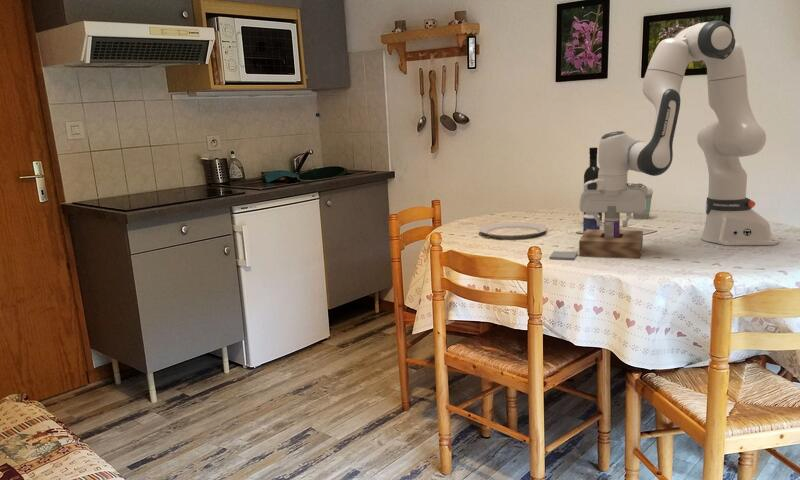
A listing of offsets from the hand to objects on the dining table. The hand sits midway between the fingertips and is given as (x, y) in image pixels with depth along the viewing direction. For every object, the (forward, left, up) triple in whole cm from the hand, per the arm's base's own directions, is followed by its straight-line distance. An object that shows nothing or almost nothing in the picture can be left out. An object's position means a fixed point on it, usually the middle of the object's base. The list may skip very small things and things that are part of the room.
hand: (612, 226), depth 201 cm
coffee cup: (-6, -59, -8) cm, 60 cm away
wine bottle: (+11, -43, -8) cm, 45 cm away
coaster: (+14, +11, -8) cm, 19 cm away
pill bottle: (+9, -22, -8) cm, 25 cm away
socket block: (0, 0, -8) cm, 8 cm away
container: (0, 0, -8) cm, 8 cm away
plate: (+38, -23, -9) cm, 45 cm away
